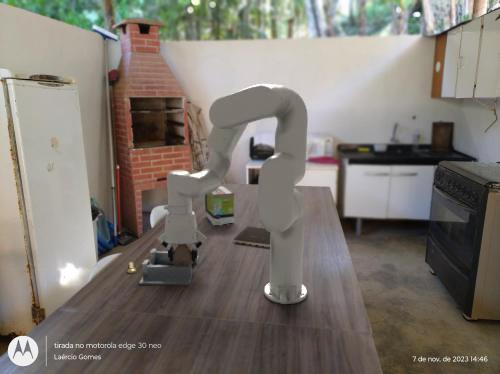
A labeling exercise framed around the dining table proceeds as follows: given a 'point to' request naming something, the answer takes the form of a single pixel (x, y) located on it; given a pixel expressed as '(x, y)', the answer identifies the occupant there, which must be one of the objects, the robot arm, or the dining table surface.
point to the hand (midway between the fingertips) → (183, 259)
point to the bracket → (165, 270)
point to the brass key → (131, 268)
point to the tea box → (220, 206)
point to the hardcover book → (254, 236)
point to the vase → (182, 255)
